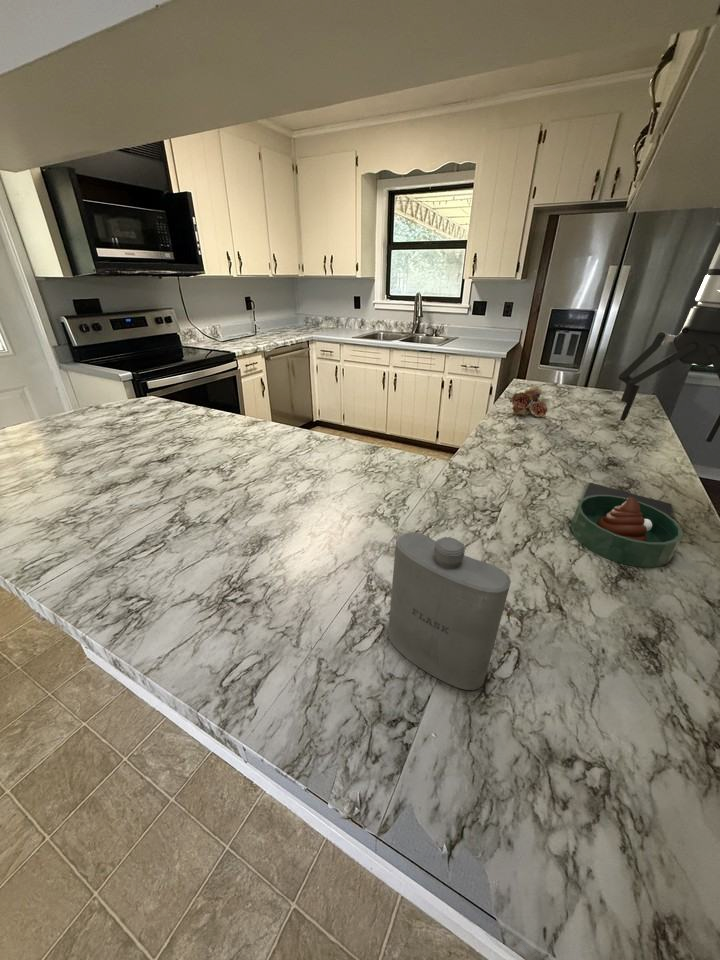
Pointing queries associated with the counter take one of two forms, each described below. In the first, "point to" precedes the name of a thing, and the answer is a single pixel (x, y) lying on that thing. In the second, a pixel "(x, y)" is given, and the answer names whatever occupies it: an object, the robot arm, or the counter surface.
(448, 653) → the flask
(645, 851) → the counter surface
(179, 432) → the counter surface
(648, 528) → the poop emoji
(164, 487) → the counter surface
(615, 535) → the green round dish
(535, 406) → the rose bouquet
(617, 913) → the counter surface
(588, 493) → the mat
